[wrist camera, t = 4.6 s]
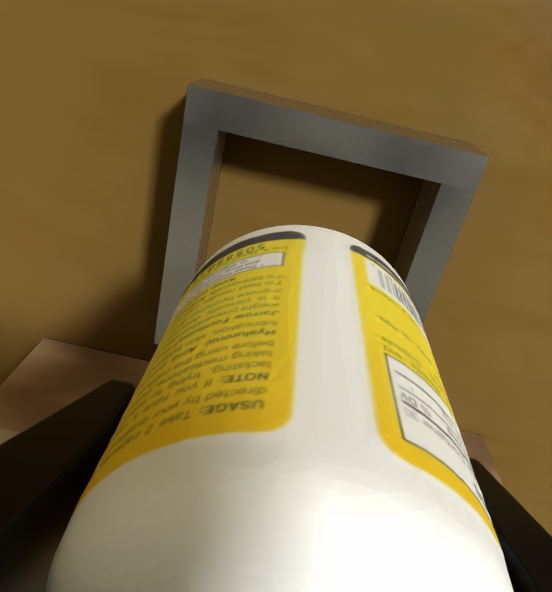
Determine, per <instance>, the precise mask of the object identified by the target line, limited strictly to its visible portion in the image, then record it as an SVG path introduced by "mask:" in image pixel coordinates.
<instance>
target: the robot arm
mask: <svg viewBox="0 0 552 592" xmlns="http://www.w3.org/2000/svg"><path fill="white" fill-rule="evenodd" d="M135 390H136V387H135V385H134V384H133V383H130V382H126V381H121V380H117V379H111V380H108V381H107V382H105V383H103V384H101V385H100V386H98V387H96V388H95V389H93V390H91V391H90V392H88V393H86V394H85V395H83V396H81V397H79V398H78V399H76V400H74V401H73V402H71V403H69V404H68V405H66V406H64V407H63V408H61V409H59V410H57V411H56V412H54V413H52V414H51V415H49V416H47V417H46V418H44V419H42V420H41V421H39V422H37V423H35V424H34V425H32V426H30V427H29V428H27V429H25V430H24V431H22V432H20V433H19V434H17V435H15V436H13V437H12V438H10V439H8V440H7V441H5V442H3V443H2V444H0V592H45V590H46V584H47V578H48V573H49V570H50V567H51V564H52V561H53V558H54V555H55V553H56V551H57V548H58V546H59V544H60V541H61V539H62V537H63V535H64V532H65V530H66V528H67V525H68V523H69V521H70V519H71V516H72V514H73V512H74V510H75V508H76V506H77V504H78V501H79V499H80V497H81V496H82V494H83V492H84V490H85V488H86V487H87V485H88V483H89V481H90V479H91V477H92V475H93V473H94V471H95V469H96V467H97V465H98V463H99V461H100V459H101V457H102V456H103V454H104V452H105V450H106V448H107V447H108V445H109V442H110V440H111V438H112V436H113V434H114V433H115V431H116V429H117V427H118V425H119V422H120V420H121V418H122V416H123V414H124V412H125V410H126V408H127V407H128V405H129V403H130V401H131V399H132V397H133V395H134V392H135ZM469 460H470V463H471V466H472V469H473V472H474V475H475V478H476V480H477V483H478V485H479V488H480V490H481V492H482V495H483V498H484V502H485V505H486V508H487V510H488V513H489V515H490V518H491V521H492V525H493V528H494V530H495V533H496V535H497V538H498V541H499V543H500V546H501V549H502V552H503V555H504V559H505V563H506V567H507V571H508V574H509V577H510V581H511V584H512V588H513V591H514V592H552V536H551V535H550V534H549V533H548V532H547V531H546V530H545V529H544V528H543V527H542V526H541V525H540V524H539V523H538V522H537V521H536V520H535V519H534V518H533V517H532V516H531V515H530V514H529V513H528V512H527V511H526V510H525V509H524V507H523V506H522V505H521V504H520V503H519V502H518V501H517V500H516V499H515V498H514V497H513V496H512V495H511V494H510V493H509V492H508V491H507V490H506V489H505V488H504V487H503V486H502V485H501V484H500V483H499V482H498V481H497V480H496V478H495V477H494V476H493V475H492V474H491V473H490V472H489V471H488V470H487V469H486V468H485V467H484V466H483V465H482V464H481V463H480V462H479V461H478V460H476V459H474V458H470V457H469Z"/></svg>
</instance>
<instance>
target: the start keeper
mask: <svg viewBox="0 0 552 592" xmlns="http://www.w3.org/2000/svg"><path fill="white" fill-rule="evenodd" d="M227 132H228V133H232V134H237V135H241V136H245V137H249V138H253V139H257V140H262V141H266V142H270V143H274V144H278V145H283V146H287V147H291V148H295V149H299V150H304V151H308V152H312V153H316V154H320V155H324V156H329V157H333V158H337V159H341V160H345V161H350V162H354V163H358V164H362V165H366V166H370V167H375V168H379V169H383V170H387V171H391V172H396V173H400V174H404V175H408V176H412V177H416V178H421V179H424V181H423V184H422V187H421V190H420V193H419V196H418V198H417V201H416V204H415V207H414V210H413V213H412V215H411V218H410V221H409V224H408V227H407V230H406V233H405V235H404V238H403V241H402V244H401V247H400V250H399V252H398V255H397V258H396V261H395V264H394V267H393V269H394V270H395V271H396V272H397V274H398V275H399V276H400V278H401V279H402V281H403V282H404V284H405V286H406V288H407V289H408V291H409V293H410V295H411V297H412V300H413V302H414V304H415V306H416V309H417V312H418V314H419V317H420V320H421V323H423V321H424V318H425V316H426V313H427V311H428V308H429V306H430V303H431V301H432V298H433V296H434V293H435V291H436V288H437V286H438V283H439V281H440V278H441V276H442V273H443V271H444V268H445V266H446V263H447V261H448V258H449V256H450V254H451V251H452V249H453V246H454V244H455V241H456V239H457V236H458V234H459V231H460V229H461V226H462V224H463V221H464V219H465V216H466V214H467V211H468V209H469V206H470V204H471V201H472V199H473V196H474V194H475V191H476V189H477V186H478V184H479V181H480V179H481V176H482V174H483V171H484V169H485V167H486V164H487V162H488V159H489V156H487V155H486V154H484V153H483V152H482V151H480V150H479V149H477V148H476V147H475V146H473V145H472V144H470V143H466V142H462V141H458V140H454V139H449V138H445V137H441V136H437V135H433V134H429V133H425V132H421V131H416V130H412V129H408V128H404V127H400V126H396V125H392V124H388V123H383V122H379V121H375V120H371V119H367V118H363V117H359V116H354V115H350V114H346V113H342V112H338V111H334V110H330V109H326V108H321V107H317V106H313V105H309V104H305V103H301V102H297V101H293V100H288V99H284V98H280V97H276V96H272V95H268V94H264V93H260V92H255V91H251V90H247V89H243V88H239V87H235V86H231V85H226V84H222V83H218V82H214V81H210V80H206V79H201V80H198V81H195V82H193V83H190V84H188V89H187V97H186V105H185V112H184V120H183V127H182V135H181V142H180V150H179V157H178V165H177V173H176V180H175V188H174V195H173V203H172V210H171V218H170V225H169V233H168V241H167V248H166V256H165V263H164V271H163V278H162V286H161V293H160V301H159V309H158V316H157V324H156V331H155V339H154V344H159V343H160V341H161V339H162V337H163V335H164V333H165V331H166V329H167V327H168V325H169V322H170V320H171V318H172V316H173V314H174V312H175V310H176V308H177V306H178V304H179V302H180V300H181V298H182V296H183V294H184V292H185V290H186V288H187V287H188V285H189V283H190V282H191V280H192V279H193V277H194V276H195V274H196V273H197V272H198V270H199V269H200V268H201V267H202V265H203V264H204V263H205V257H206V252H207V246H208V240H209V234H210V228H211V222H212V216H213V211H214V205H215V199H216V193H217V187H218V181H219V175H220V170H221V164H222V158H223V152H224V146H225V140H226V134H227Z"/></svg>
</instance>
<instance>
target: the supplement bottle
mask: <svg viewBox="0 0 552 592" xmlns="http://www.w3.org/2000/svg"><path fill="white" fill-rule="evenodd" d="M45 592H514V591H513V588H512V584H511V581H510V577H509V574H508V571H507V567H506V563H505V559H504V555H503V552H502V549H501V546H500V543H499V541H498V538H497V535H496V533H495V530H494V528H493V525H492V521H491V518H490V515H489V513H488V510H487V508H486V505H485V502H484V498H483V495H482V492H481V490H480V488H479V485H478V483H477V480H476V478H475V475H474V472H473V469H472V466H471V463H470V460H469V457H468V454H467V451H466V448H465V445H464V443H463V440H462V437H461V434H460V431H459V429H458V426H457V423H456V420H455V417H454V414H453V411H452V409H451V406H450V403H449V400H448V398H447V395H446V392H445V389H444V387H443V384H442V381H441V378H440V375H439V372H438V369H437V366H436V363H435V360H434V358H433V355H432V352H431V349H430V346H429V343H428V340H427V337H426V334H425V332H424V329H423V326H422V323H421V320H420V317H419V314H418V312H417V309H416V306H415V304H414V302H413V300H412V297H411V295H410V293H409V291H408V289H407V288H406V286H405V284H404V282H403V281H402V279H401V278H400V276H399V275H398V274H397V272H396V271H395V270H394V269H393V268H392V266H391V265H390V264H389V263H388V262H387V261H386V260H385V259H384V258H383V257H382V256H381V255H379V254H378V253H377V252H376V251H374V250H373V249H371V248H370V247H369V246H367V245H366V244H364V243H362V242H360V241H358V240H357V239H355V238H352V237H350V236H348V235H346V234H343V233H340V232H337V231H334V230H331V229H326V228H321V227H316V226H306V225H285V226H276V227H270V228H265V229H262V230H258V231H254V232H252V233H249V234H246V235H244V236H242V237H239V238H237V239H235V240H234V241H232V242H230V243H228V244H227V245H225V246H224V247H222V248H221V249H220V250H218V251H217V252H216V253H215V254H214V255H212V256H211V257H210V258H209V259H208V260H207V261H206V262H205V263H204V264H203V265H202V267H201V268H200V269H199V270H198V272H197V273H196V274H195V276H194V277H193V279H192V280H191V282H190V283H189V285H188V287H187V288H186V290H185V292H184V294H183V296H182V298H181V300H180V302H179V304H178V306H177V308H176V310H175V312H174V314H173V316H172V318H171V320H170V322H169V325H168V327H167V329H166V331H165V333H164V335H163V337H162V339H161V341H160V343H159V345H158V347H157V349H156V351H155V353H154V355H153V358H152V359H151V361H150V363H149V365H148V367H147V369H146V371H145V373H144V375H143V377H142V379H141V381H140V383H139V385H138V387H137V388H136V390H135V392H134V395H133V397H132V399H131V401H130V403H129V405H128V407H127V408H126V410H125V412H124V414H123V416H122V418H121V420H120V422H119V425H118V427H117V429H116V431H115V433H114V434H113V436H112V438H111V440H110V442H109V445H108V447H107V448H106V450H105V452H104V454H103V456H102V457H101V459H100V461H99V463H98V465H97V467H96V469H95V471H94V473H93V475H92V477H91V479H90V481H89V483H88V485H87V487H86V488H85V490H84V492H83V494H82V496H81V497H80V499H79V501H78V504H77V506H76V508H75V510H74V512H73V514H72V516H71V519H70V521H69V523H68V525H67V528H66V530H65V532H64V535H63V537H62V539H61V541H60V544H59V546H58V548H57V551H56V553H55V555H54V558H53V561H52V564H51V567H50V570H49V573H48V578H47V584H46V590H45Z"/></svg>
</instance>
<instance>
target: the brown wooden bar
mask: <svg viewBox="0 0 552 592" xmlns="http://www.w3.org/2000/svg"><path fill="white" fill-rule="evenodd" d="M149 363H150V361H145V360H141V359H136V358H132V357H128V356H123V355H119V354H114V353H110V352H105V351H101V350H96V349H92V348H87V347H83V346H78V345H74V344H69V343H65V342H60V341H56V340H51V339H47V338H43V339H42V340H41V341H40V342H39V344H38V345H37V346H36V347H35V348H34V349H33V350H32V351H31V352H30V353H29V355H28V356H27V357H26V358H25V359H24V360H23V361H22V362H21V363H20V365H19V366H18V367H17V368H16V369H15V370H14V371H13V372H12V373H11V374H10V376H9V377H8V378H7V379H6V380H5V381H4V382H3V383H2V384H1V386H0V444H2V443H3V442H5V441H7V440H8V439H10V438H12V437H13V436H15V435H17V434H19V433H20V432H22V431H24V430H25V429H27V428H29V427H30V426H32V425H34V424H35V423H37V422H39V421H41V420H42V419H44V418H46V417H47V416H49V415H51V414H52V413H54V412H56V411H57V410H59V409H61V408H63V407H64V406H66V405H68V404H69V403H71V402H73V401H74V400H76V399H78V398H79V397H81V396H83V395H85V394H86V393H88V392H90V391H91V390H93V389H95V388H96V387H98V386H100V385H101V384H103V383H105V382H107V381H108V380H111V379H117V380H121V381H126V382H130V383H133V384H134V385H135V387H136V388H137V387H138V385H139V383H140V381H141V379H142V377H143V375H144V373H145V371H146V369H147V367H148V365H149ZM460 434H461V437H462V440H463V443H464V445H465V448H466V451H467V454H468V457H470V458H474V459H476V460H478V461H479V462H480V463H481V464H482V465H483V466H484V467H485V468H486V469H487V470H488V471H489V472H490V473H491V474H492V475H493V476H494V477H495V478H496V480H497V481H498V482H499V483H500V484H501V485H502V483H501V480H500V478H499V475H498V473H497V470H496V468H495V465H494V463H493V461H492V458H491V456H490V453H489V451H488V448H487V446H486V444H485V441H484V439H483V436H482V435H477V434H473V433H468V432H464V431H460ZM502 486H503V485H502Z"/></svg>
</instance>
